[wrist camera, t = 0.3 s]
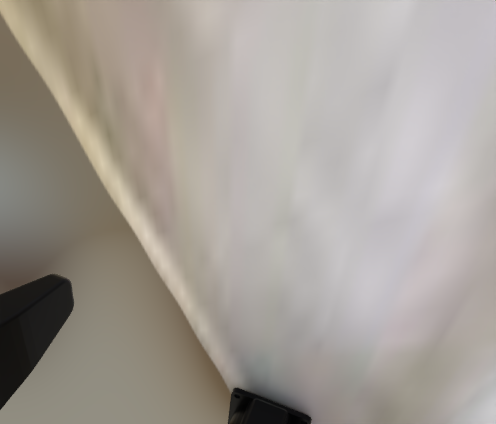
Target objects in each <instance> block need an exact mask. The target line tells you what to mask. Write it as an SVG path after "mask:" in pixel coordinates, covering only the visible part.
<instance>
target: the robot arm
mask: <svg viewBox="0 0 496 424" xmlns="http://www.w3.org/2000/svg"><path fill="white" fill-rule="evenodd" d="M73 306H74V299H73V292H72V285H71V281H70V280H69V279H67V278H65V277H62V276H60V275H58V274H50V275H47V276H45V277H42V278H40V279H37V280H35V281H32V282H30V283H27V284H25V285H22V286H20V287H17V288H15V289H12V290H10V291H8V292H5V293H3V294H0V410H1V408H2V407H3V406H4V405H5V404H6V402H7V401H8V400H9V399H10V397H11V396H12V395H13V394H14V392H15V391H16V390H17V389H18V388H19V387H20V385H21V384H22V383H23V382H24V380H25V379H26V378H27V377H28V375H29V374H30V373H31V372H32V370H33V369H34V367H35V366H36V364H37V363H38V362H39V360H40V359H41V357H42V356H43V354H44V353H45V351H46V350H47V348H48V347H49V345H50V344H51V342H52V341H53V339H54V338H55V336H56V335H57V333H58V332H59V330H60V329H61V327H62V326H63V324H64V323H65V322H66V320H67V319H68V317H69V316H70V314H71V312H72V310H73ZM311 421H312V419H311V417H309V416H308V415H306V414H303V413H301V412H298V411H296V410H293V409H291V408H288V407H285V406H283V405H280V404H278V403H275V402H273V401H270V400H268V399H265V398H262V397H260V396H257V395H255V394H252V393H250V392H247V391H244V390H242V389H239V388H234V389H233V392H232V394H231V402H230V411H229V419H228V424H311Z"/></svg>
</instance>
